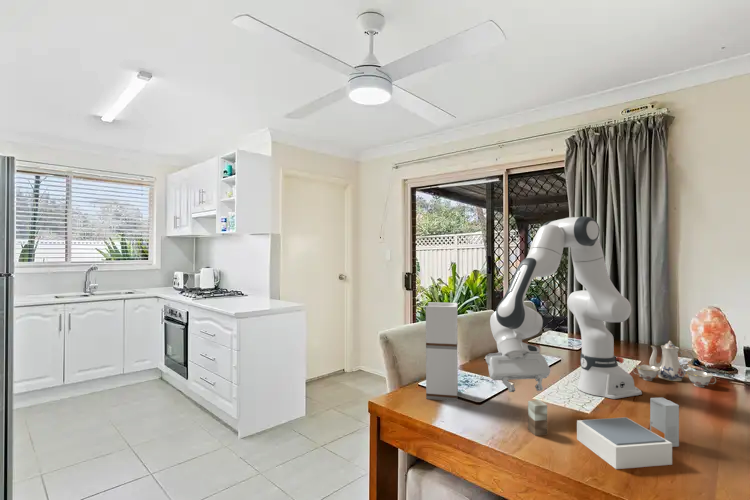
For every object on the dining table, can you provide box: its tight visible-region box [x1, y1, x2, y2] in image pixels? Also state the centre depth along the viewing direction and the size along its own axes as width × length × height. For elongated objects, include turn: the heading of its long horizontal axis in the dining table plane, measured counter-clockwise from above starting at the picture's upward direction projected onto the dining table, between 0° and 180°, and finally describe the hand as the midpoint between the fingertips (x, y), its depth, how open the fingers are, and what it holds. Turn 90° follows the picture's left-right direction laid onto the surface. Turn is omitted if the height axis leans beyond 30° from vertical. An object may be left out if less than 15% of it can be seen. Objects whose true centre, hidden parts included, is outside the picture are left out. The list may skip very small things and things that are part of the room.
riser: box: [576, 416, 673, 470], centre depth 111 cm, size 16×16×6 cm
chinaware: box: [632, 340, 717, 388], centre depth 169 cm, size 28×17×17 cm, turn 68°
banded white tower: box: [425, 301, 459, 402], centre depth 154 cm, size 11×11×35 cm
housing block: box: [527, 399, 548, 436], centre depth 123 cm, size 4×4×9 cm
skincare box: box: [649, 397, 680, 448], centre depth 116 cm, size 6×4×12 cm
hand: (526, 390), depth 129 cm, fingers open, 8 cm apart
